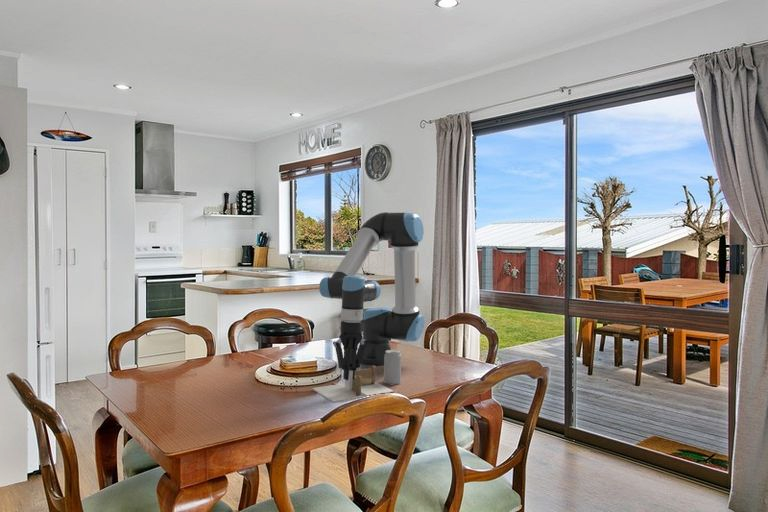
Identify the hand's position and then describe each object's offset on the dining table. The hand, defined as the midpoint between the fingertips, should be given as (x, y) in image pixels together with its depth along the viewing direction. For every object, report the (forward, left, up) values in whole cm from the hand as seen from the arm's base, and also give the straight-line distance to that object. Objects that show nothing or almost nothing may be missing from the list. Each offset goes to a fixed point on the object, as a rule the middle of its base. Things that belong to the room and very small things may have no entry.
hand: (348, 388), depth 187 cm
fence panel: (0, +3, -1) cm, 3 cm away
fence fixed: (-6, +9, -2) cm, 11 cm away
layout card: (-3, +4, -2) cm, 5 cm away
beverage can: (-5, +22, -2) cm, 23 cm away
